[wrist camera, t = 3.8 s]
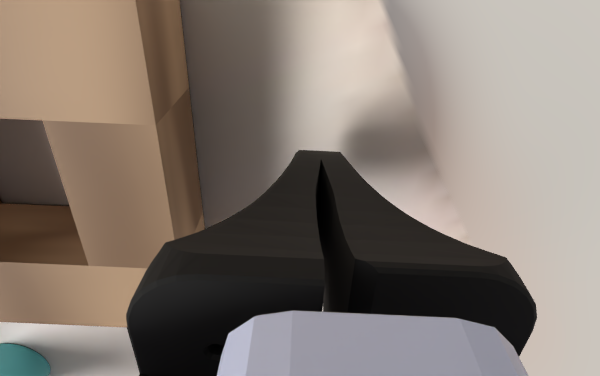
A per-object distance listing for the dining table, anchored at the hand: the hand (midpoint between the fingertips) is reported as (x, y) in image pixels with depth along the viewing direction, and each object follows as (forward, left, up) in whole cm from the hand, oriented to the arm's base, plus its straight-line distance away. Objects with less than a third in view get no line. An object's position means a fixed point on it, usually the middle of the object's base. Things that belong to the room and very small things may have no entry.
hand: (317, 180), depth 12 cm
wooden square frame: (+9, 0, -1) cm, 9 cm away
